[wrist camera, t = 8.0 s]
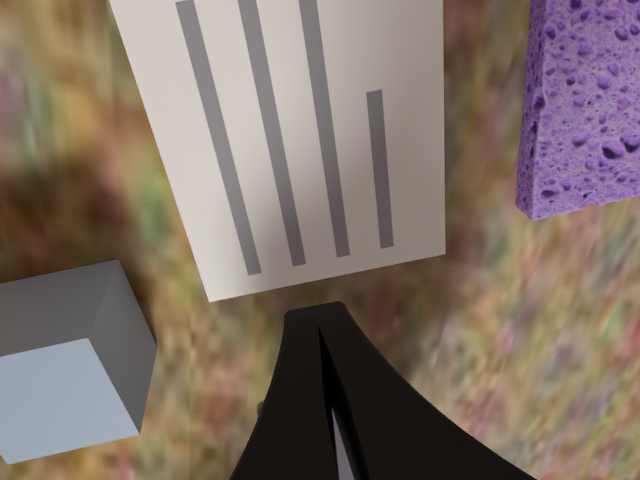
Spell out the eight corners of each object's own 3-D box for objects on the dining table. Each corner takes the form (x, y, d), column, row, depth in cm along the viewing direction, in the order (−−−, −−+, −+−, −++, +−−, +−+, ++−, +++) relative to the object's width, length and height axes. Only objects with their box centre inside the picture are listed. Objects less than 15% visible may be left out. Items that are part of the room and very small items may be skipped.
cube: (157, 345, 23) (139, 434, 19) (50, 368, 23) (8, 464, 18) (118, 257, 20) (87, 337, 16) (-3, 283, 20) (-67, 371, 16)
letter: (444, 252, 23) (445, 254, 23) (209, 300, 22) (209, 302, 22) (440, -156, 15) (441, -157, 15) (77, -99, 14) (76, -99, 14)
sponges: (509, 203, 22) (529, 222, 21) (528, -139, 16) (561, -150, 14) (654, 173, 23) (686, 190, 21) (732, -174, 16) (786, -188, 15)
